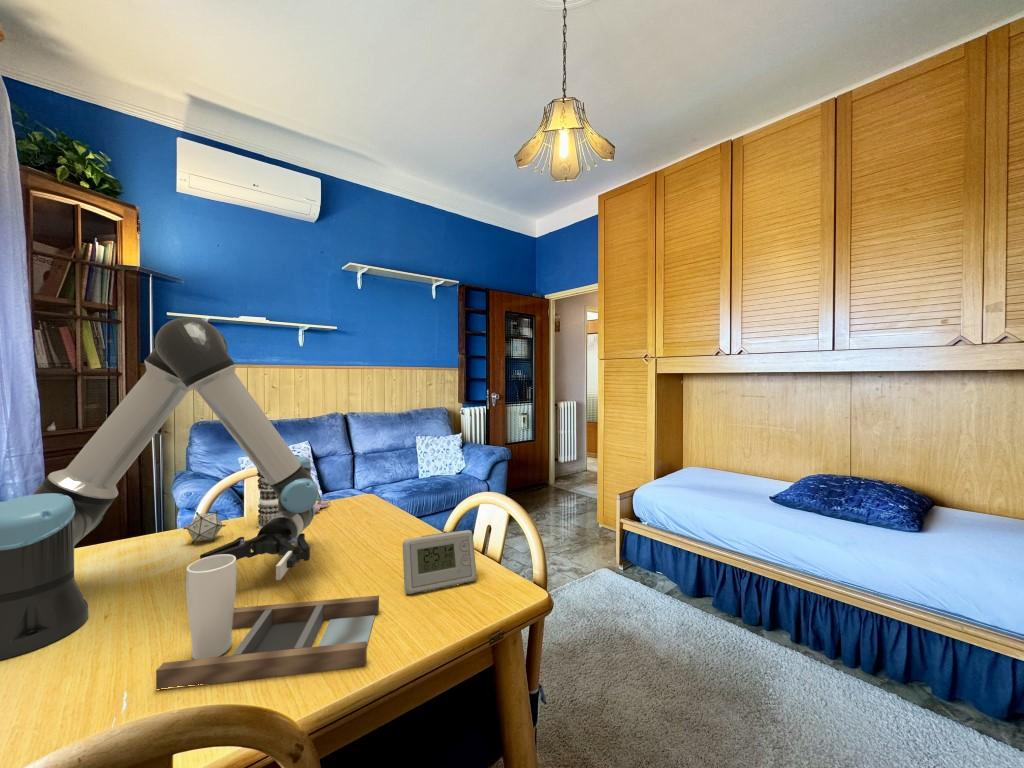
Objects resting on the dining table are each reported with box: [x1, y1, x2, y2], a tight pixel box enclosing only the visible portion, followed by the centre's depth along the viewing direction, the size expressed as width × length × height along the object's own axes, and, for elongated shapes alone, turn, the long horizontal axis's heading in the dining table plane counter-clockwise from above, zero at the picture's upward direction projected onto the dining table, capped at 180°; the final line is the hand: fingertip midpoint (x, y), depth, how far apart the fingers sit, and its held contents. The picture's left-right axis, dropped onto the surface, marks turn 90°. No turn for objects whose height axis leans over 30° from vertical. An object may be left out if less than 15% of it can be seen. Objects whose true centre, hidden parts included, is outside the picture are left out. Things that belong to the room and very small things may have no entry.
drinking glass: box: [185, 554, 238, 660], centre depth 67 cm, size 7×7×15 cm
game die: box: [182, 510, 227, 545], centre depth 112 cm, size 9×8×10 cm
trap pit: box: [231, 605, 324, 656], centre depth 69 cm, size 10×12×3 cm
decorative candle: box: [256, 468, 278, 530], centre depth 124 cm, size 9×9×25 cm
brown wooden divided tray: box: [155, 595, 380, 690], centre depth 69 cm, size 29×16×3 cm, turn 100°
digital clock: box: [402, 529, 478, 595], centre depth 90 cm, size 16×9×11 cm, turn 102°
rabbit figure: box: [314, 494, 331, 513], centre depth 136 cm, size 6×6×15 cm
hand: (238, 575), depth 75 cm, fingers open, 13 cm apart
